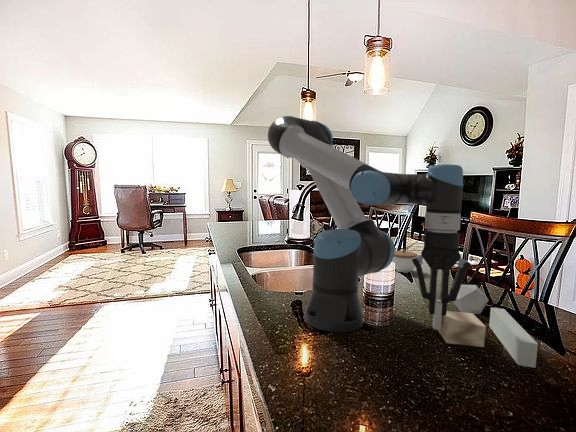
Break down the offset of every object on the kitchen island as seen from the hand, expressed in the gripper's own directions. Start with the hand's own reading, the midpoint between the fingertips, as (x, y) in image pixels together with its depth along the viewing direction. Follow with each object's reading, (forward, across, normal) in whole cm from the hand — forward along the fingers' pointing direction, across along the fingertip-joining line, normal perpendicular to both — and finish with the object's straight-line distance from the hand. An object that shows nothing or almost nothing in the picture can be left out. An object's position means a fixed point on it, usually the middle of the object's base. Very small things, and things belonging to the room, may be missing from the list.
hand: (436, 327), depth 81 cm
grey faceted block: (+2, +11, +20) cm, 22 cm away
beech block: (+2, +5, 0) cm, 5 cm away
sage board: (+2, +16, 0) cm, 16 cm away
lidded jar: (+1, -6, +62) cm, 62 cm away
